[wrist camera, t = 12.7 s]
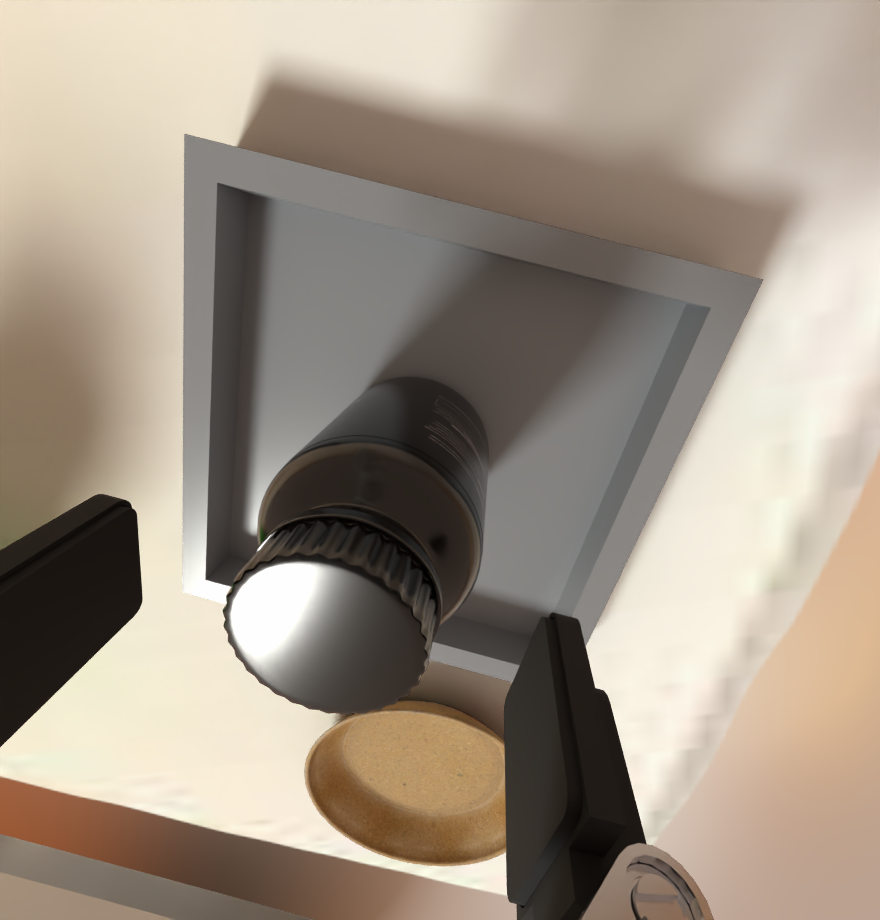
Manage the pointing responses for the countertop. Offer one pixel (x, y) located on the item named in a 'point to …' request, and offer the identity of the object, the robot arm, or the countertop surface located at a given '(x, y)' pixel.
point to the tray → (439, 371)
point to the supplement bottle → (364, 550)
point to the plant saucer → (413, 784)
